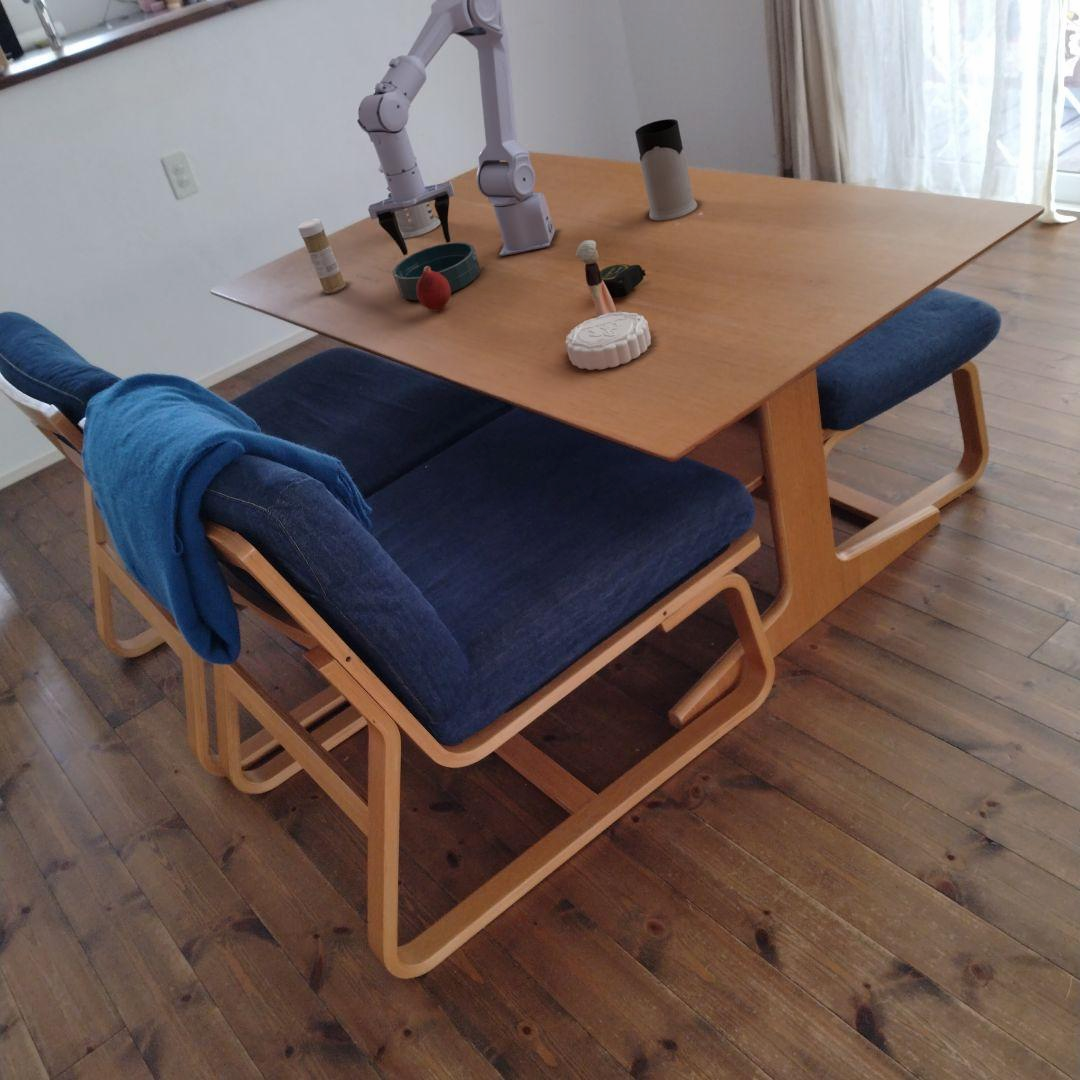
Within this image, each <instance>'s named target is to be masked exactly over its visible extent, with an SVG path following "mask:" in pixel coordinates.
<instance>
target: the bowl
mask: <svg viewBox="0 0 1080 1080" xmlns="http://www.w3.org/2000/svg"><path fill="white" fill-rule="evenodd" d="M475 250H476V249H475V247H474V245H473V244H471V243H469V242H465V241H454V242H453V241H452V242H448V243H446V242H445V243H441V244H437V245H436V244H435V245H433V246H430V247H427V248H424V249H421V250H419V251H416V252H413V254H411V255H409V256H407V257H405V258H404V259H402V260H401V261H399V262H398V263H397V264H396V265H395V266H394V268H393V270H392V276H393V279H394V281H395V284H396V287H397V290H398V292H399V295H400V296H401V297H402V298H403V299H407V300H411V301H419V299H418V298H417V293H416V286H417V282H418V280H419V278H420V277H421V275H422V274H423V270H424V268H425V267H426V266H429V267H431V271H434V272H438V273H440V274H441V275H443V276H444V277H445V278H446V279H447V280H448V283H449V285H450V289H451V294H452V293H454V292H457V291H459V290H461V289H463V288H465V287H466V286H468V285H469V284H470V283H472V282H473V281H474V280H476V278H477V277H479V275H480V272H481V270H482V269H481V265H480V263H479V259H478V257H477V253H476V251H475Z"/></svg>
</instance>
